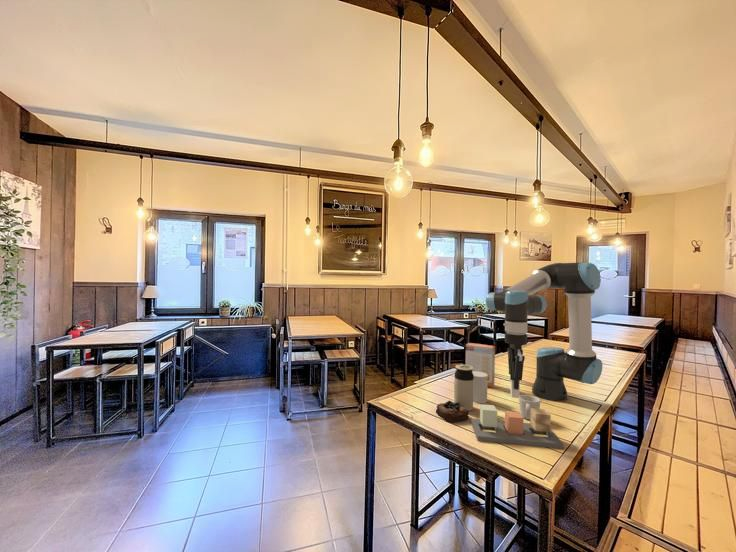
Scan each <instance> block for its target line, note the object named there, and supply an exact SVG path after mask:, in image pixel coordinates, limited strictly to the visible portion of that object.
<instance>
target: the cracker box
mask: <svg viewBox="0 0 736 552" xmlns="http://www.w3.org/2000/svg"><path fill="white" fill-rule="evenodd" d="M495 356H496V346H494V345H488V344H481V343H474V342H468V343H466V344H465V365H469V366H472V367H473V370H472V372H473V371H478V372H483V373H486V374H487V375H488V381H487V388H493V387H494V386H495V378H496V377H495V369H496V366H495V364H496V363H495V361H496V360H495V359H496V357H495Z"/></svg>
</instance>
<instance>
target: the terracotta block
mask: <svg viewBox="0 0 736 552" xmlns="http://www.w3.org/2000/svg"><path fill="white" fill-rule="evenodd" d="M524 419H525V418H523V417H522V415H521V414H520V411H511V410H510V411H507V410H505V411H504V421H505V428H506V432H507V433H508V434H520V435H523V423H524Z"/></svg>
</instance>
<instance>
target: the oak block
mask: <svg viewBox="0 0 736 552" xmlns="http://www.w3.org/2000/svg"><path fill="white" fill-rule="evenodd" d="M551 418H552V416H551V414H550V413H549V411H547V410H546V409H545V408H540V409H535V408H531V419H530V420H529V421H530V422H529V423H530V424H531V426H532V427H533V428H534V430H535V431H544V432H550V429H551V420H552V419H551Z"/></svg>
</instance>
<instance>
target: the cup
mask: <svg viewBox="0 0 736 552" xmlns="http://www.w3.org/2000/svg"><path fill="white" fill-rule="evenodd" d="M541 401H542V400H541V399H540V397H538V396H536V395H535V396H534V395H530V394H520V396H519V398H518V402H519V404H518V405H519V413H520V414H521V415H522V417H523V418H524V419H526V420H529V421H530V419H531V408H535V409H541Z"/></svg>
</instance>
